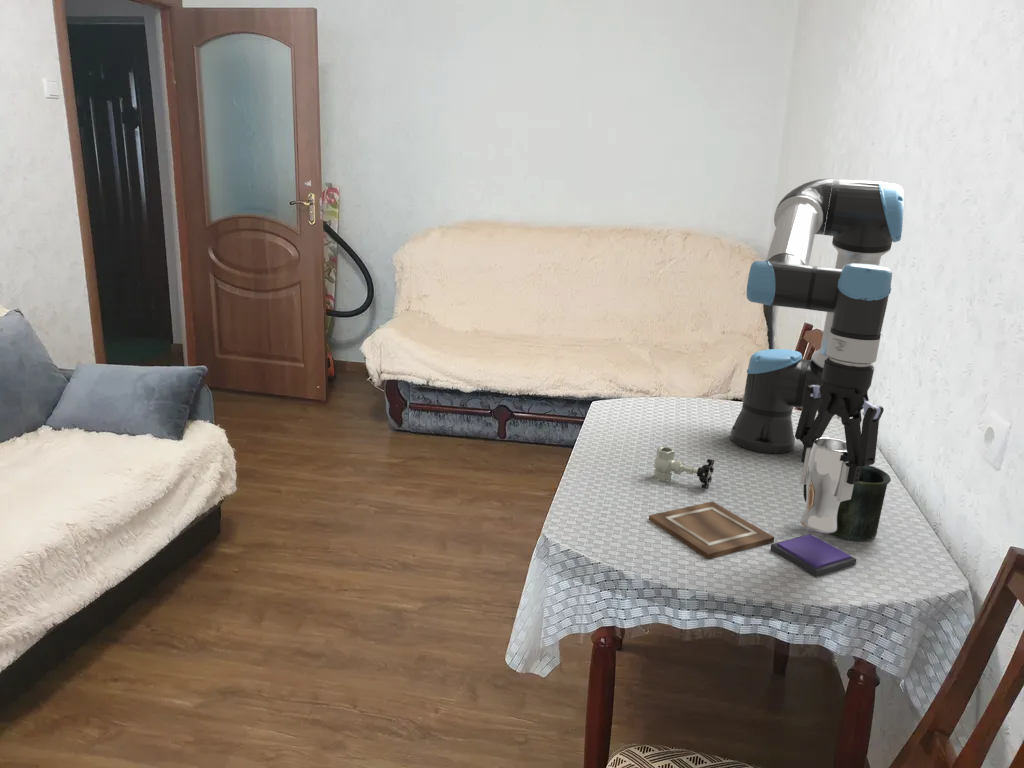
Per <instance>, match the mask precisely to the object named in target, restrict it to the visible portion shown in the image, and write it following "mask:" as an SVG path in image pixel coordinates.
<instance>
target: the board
mask: <svg viewBox="0 0 1024 768" xmlns="http://www.w3.org/2000/svg"><path fill="white" fill-rule="evenodd" d="M649 520H650V521H649ZM648 521H649V522H651V523H652V524H654V525H655V526H657V527H658V528H660V529H661V530H663V531H664V532H666V533H667V534H669V535H671V536H672V537H673V538H675V539H677V541H680V542H681V543H682V544H684V545H685V546H687V547H688V548H690V549H691V550H692V551H694V552H696V553H697V554H699V555H700V556H702V557H703V558H705V559H706V560H710V559H714V558H718V557H722V556H727V555H729V554H734V553H738V552H742V551H745V550H749V549H752V548H756V547H761V546H764V545H768V544H773V543H775V536H774V535H771V534H770V533H768V532H766V531H764V530H763V529H762V528H760V527H758V526H756V525H754V524H752V523H751V522H749V521H748V520H745V519H744V518H742V517H740V516H739V515H737V514H735V513H733V512H732V511H730V510H728V509H726V508H725V507H723V506H721V505H719V504H718V503H717V502H714V501H709V502H708V501H707V502H704V503H699V504H695V505H689V506H686V507H681V508H677V509H672V510H667V511H661V512H658V513H653V514H649V515H648Z"/></svg>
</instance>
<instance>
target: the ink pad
mask: <svg viewBox="0 0 1024 768" xmlns="http://www.w3.org/2000/svg"><path fill="white" fill-rule="evenodd" d="M769 551H771V552H773V553H774V554H776V555H777V556H779V557H781V558H782V559H784V560H786V561H788V562H790V563H792V564H793V565H795V566H796V567H798V568H799V569H801V570H803V571H804V572H806V573H808V574H809V575H811V576H813V577H815V578H818V577H822V576H826V575H829V574H831V573H834V572H838V571H842V570H844V569H848V568H851V567H854V566H856V565H857V560H858V559H857V558H856V557H853V556H852V555H850V554H848V553H846V552H845V551H843V550H842V549H839V548H838V547H835V546H833V545H832V544H830V543H828V542H826V541H824V540H822V539H821V538H819V537H817V536H815V535H813V534H812V533H808V534H805V535H801V536H797V537H793V538H789V539H786V540H782V541H777V542H773V543H770V550H769Z"/></svg>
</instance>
